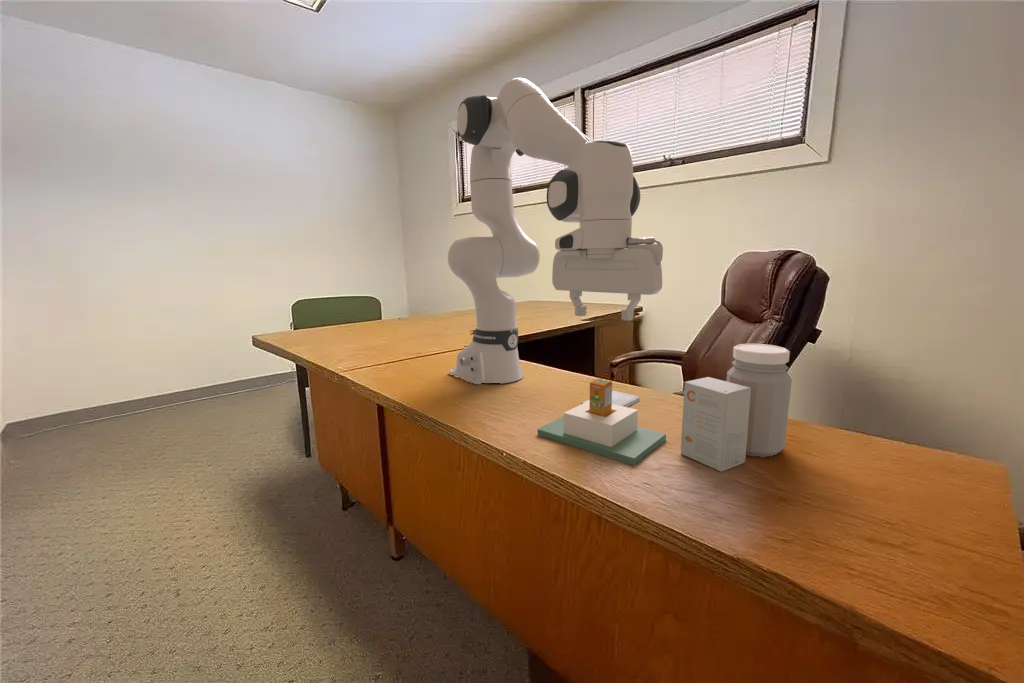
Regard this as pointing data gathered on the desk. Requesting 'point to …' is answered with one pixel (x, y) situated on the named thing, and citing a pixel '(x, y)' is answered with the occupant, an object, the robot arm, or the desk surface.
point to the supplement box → (601, 397)
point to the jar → (764, 394)
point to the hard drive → (622, 399)
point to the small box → (715, 422)
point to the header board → (616, 452)
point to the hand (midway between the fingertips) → (603, 317)
